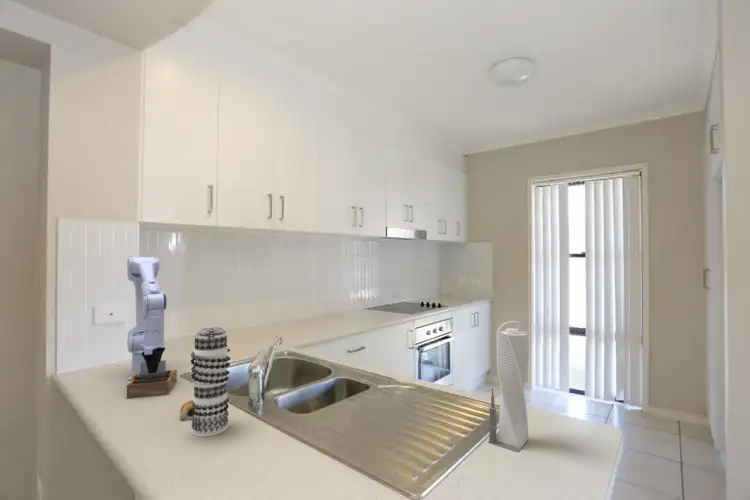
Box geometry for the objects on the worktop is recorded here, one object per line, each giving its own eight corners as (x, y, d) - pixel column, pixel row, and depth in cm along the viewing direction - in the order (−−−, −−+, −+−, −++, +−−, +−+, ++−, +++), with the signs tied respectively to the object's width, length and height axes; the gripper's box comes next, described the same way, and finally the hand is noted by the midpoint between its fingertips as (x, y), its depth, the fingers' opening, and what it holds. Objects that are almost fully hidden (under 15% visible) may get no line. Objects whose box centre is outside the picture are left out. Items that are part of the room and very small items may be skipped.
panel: (142, 380, 123) (142, 362, 123) (166, 378, 125) (166, 360, 126) (140, 382, 121) (140, 363, 121) (164, 379, 123) (164, 361, 124)
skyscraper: (501, 431, 94) (500, 318, 94) (535, 441, 88) (533, 321, 89) (487, 443, 87) (486, 322, 88) (523, 455, 82) (522, 326, 83)
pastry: (180, 409, 107) (180, 396, 107) (206, 405, 110) (206, 392, 110) (179, 422, 99) (180, 407, 99) (207, 417, 102) (208, 403, 102)
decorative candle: (191, 424, 97) (192, 327, 98) (230, 418, 100) (230, 325, 101) (187, 440, 89) (188, 333, 89) (229, 433, 92) (230, 331, 93)
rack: (139, 384, 128) (139, 369, 128) (176, 381, 132) (176, 366, 132) (126, 398, 115) (126, 381, 115) (168, 394, 119) (168, 378, 119)
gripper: (146, 327, 129) (145, 366, 129) (133, 335, 116) (132, 379, 115) (169, 326, 132) (168, 365, 131) (159, 333, 118) (158, 377, 117)
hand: (153, 371), depth 123 cm, fingers closed on panel, 2 cm apart
